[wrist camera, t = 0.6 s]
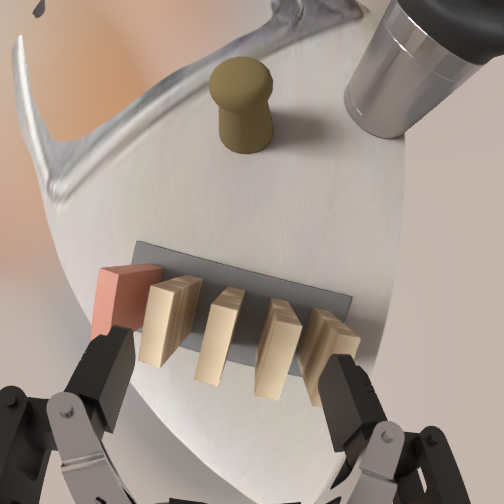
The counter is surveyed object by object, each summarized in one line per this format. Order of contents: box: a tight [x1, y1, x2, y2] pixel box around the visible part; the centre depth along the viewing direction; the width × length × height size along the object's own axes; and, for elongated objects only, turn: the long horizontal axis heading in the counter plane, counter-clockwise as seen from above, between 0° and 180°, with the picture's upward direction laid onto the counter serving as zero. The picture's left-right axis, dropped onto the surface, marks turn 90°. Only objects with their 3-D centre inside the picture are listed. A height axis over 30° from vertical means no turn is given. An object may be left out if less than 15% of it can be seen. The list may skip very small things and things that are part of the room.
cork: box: [209, 57, 273, 154], centre depth 23 cm, size 6×6×11 cm
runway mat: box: [131, 241, 351, 377], centre depth 28 cm, size 24×10×1 cm, turn 76°
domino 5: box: [297, 307, 361, 407], centre depth 23 cm, size 2×6×10 cm, turn 166°
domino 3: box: [194, 286, 245, 386], centre depth 23 cm, size 2×6×10 cm, turn 166°
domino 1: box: [91, 263, 163, 340], centre depth 23 cm, size 2×6×10 cm, turn 166°
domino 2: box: [138, 275, 203, 368], centre depth 23 cm, size 2×6×10 cm, turn 166°
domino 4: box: [254, 297, 303, 400], centre depth 23 cm, size 2×6×10 cm, turn 166°
